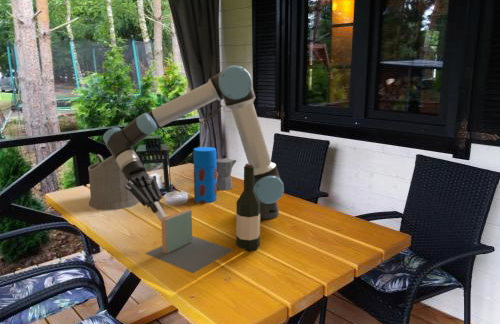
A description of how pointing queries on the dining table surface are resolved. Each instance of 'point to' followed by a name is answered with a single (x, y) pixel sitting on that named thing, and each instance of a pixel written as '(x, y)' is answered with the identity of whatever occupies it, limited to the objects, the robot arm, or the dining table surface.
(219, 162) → the coffeepot
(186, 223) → the tile
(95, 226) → the dining table surface
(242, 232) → the wine bottle
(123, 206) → the pitcher
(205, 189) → the thermos
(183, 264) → the mat
